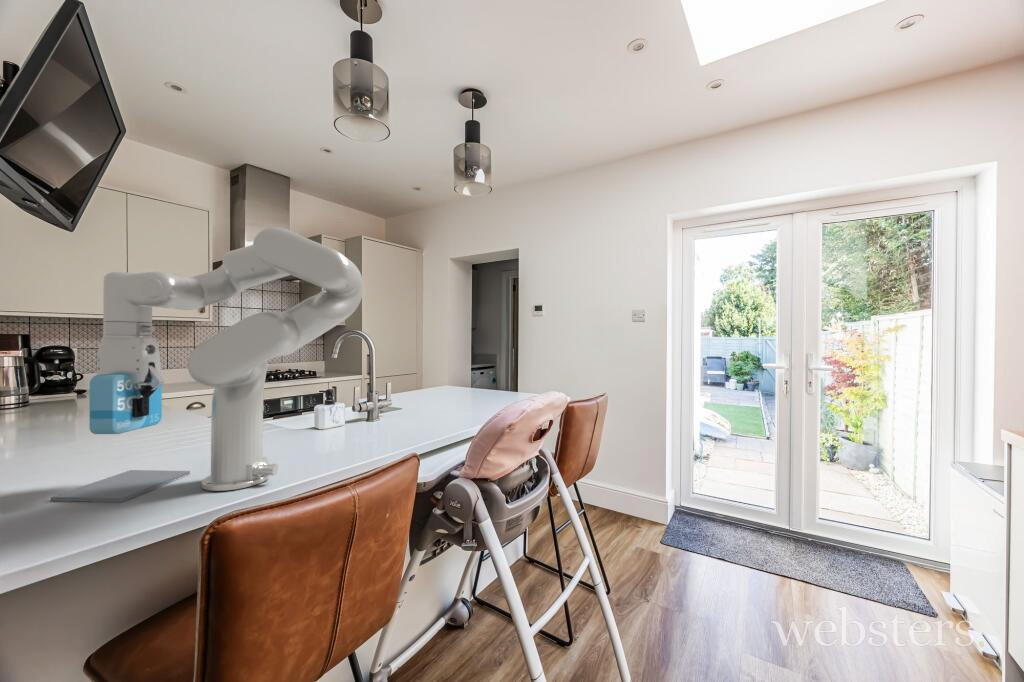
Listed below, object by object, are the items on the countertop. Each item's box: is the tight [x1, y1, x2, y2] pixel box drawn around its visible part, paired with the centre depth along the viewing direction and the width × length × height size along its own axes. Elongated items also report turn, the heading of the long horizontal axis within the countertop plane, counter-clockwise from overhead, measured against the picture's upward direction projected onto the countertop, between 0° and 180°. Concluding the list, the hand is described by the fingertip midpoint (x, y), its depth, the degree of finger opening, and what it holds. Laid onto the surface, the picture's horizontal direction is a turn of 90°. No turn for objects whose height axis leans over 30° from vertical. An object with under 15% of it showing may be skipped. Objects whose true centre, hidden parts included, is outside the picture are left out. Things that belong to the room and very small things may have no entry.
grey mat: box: [50, 469, 191, 503], centre depth 85 cm, size 14×16×1 cm
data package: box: [89, 374, 163, 435], centre depth 85 cm, size 12×4×12 cm, turn 3°
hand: (128, 415), depth 85 cm, fingers closed on data package, 4 cm apart
